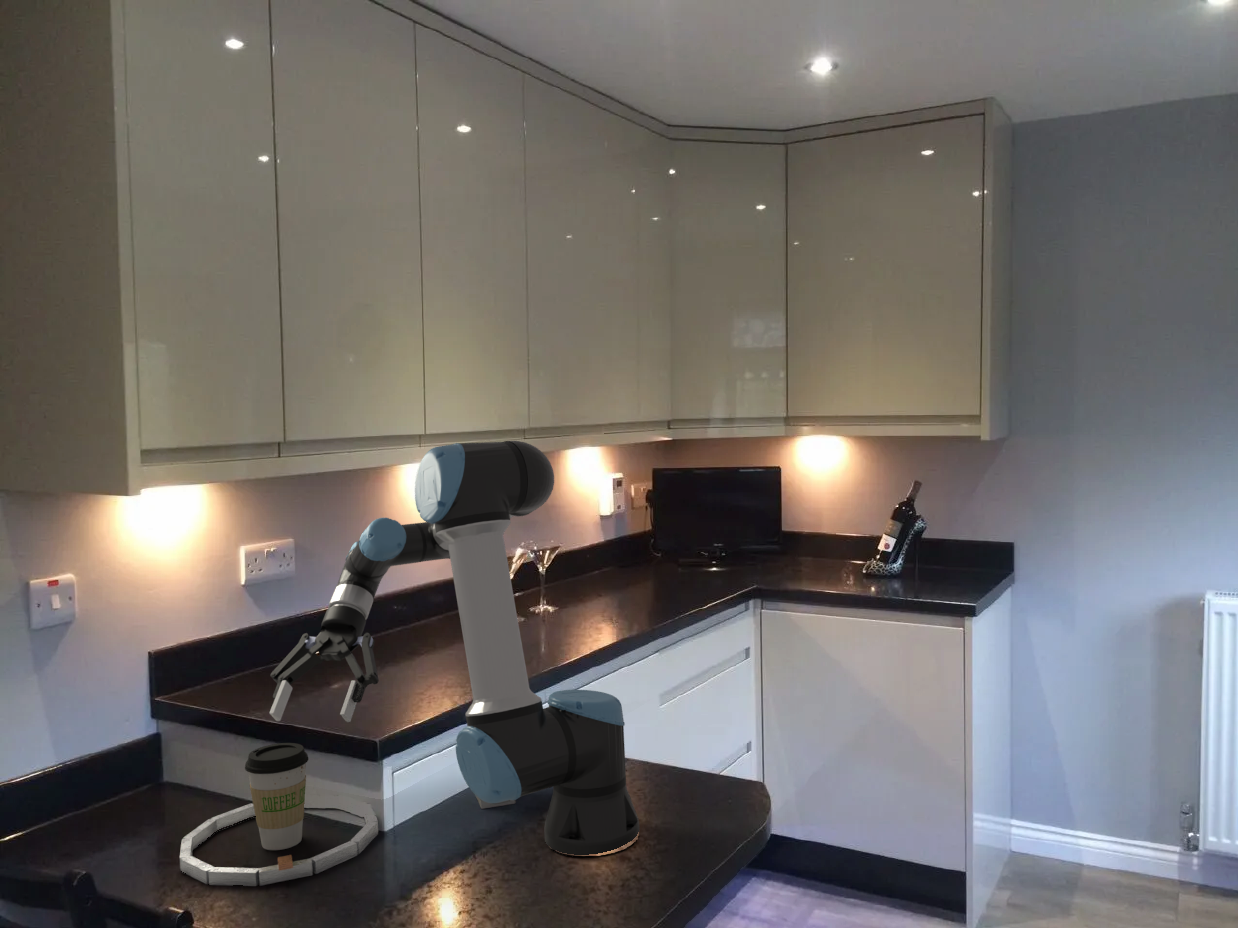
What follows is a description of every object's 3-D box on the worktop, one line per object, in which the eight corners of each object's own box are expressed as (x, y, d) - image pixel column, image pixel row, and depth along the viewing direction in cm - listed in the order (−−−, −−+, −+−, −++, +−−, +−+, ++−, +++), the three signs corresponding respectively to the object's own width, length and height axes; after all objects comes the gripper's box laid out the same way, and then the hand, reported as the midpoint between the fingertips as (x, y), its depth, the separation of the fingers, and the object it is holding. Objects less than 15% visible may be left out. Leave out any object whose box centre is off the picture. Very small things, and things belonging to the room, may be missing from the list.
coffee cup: (293, 856, 157) (288, 762, 157) (237, 853, 159) (231, 761, 159) (324, 830, 167) (319, 742, 166) (270, 828, 169) (265, 740, 168)
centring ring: (389, 861, 154) (388, 843, 154) (176, 904, 143) (175, 885, 143) (364, 794, 182) (363, 778, 182) (185, 825, 172) (184, 809, 171)
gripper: (415, 625, 187) (383, 728, 173) (296, 626, 193) (256, 727, 179) (400, 602, 181) (366, 707, 167) (278, 604, 187) (235, 706, 173)
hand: (309, 717), depth 173 cm, fingers open, 13 cm apart
